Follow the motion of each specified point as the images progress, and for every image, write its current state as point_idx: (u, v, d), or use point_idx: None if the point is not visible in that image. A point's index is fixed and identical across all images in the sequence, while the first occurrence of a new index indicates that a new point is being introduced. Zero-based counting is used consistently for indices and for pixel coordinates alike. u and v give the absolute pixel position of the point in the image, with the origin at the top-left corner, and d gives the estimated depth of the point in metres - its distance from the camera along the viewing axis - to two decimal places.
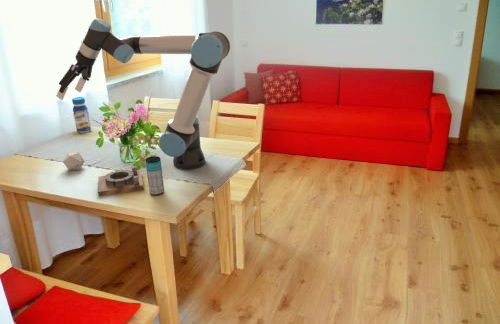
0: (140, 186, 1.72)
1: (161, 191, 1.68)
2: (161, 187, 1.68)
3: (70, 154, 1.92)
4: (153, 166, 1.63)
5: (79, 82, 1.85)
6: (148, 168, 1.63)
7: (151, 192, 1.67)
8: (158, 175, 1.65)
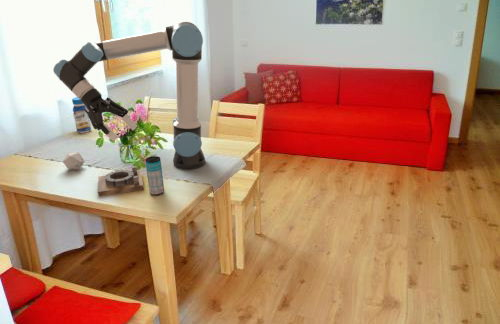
0: (140, 186, 1.72)
1: (161, 191, 1.68)
2: (161, 187, 1.68)
3: (70, 154, 1.92)
4: (153, 166, 1.63)
5: (126, 122, 1.70)
6: (148, 168, 1.63)
7: (151, 192, 1.67)
8: (158, 175, 1.65)
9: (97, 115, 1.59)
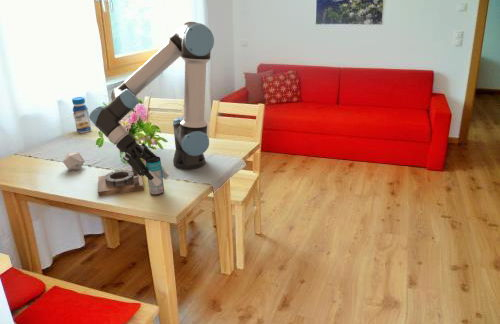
0: (140, 186, 1.72)
1: (161, 191, 1.68)
2: (161, 187, 1.68)
3: (70, 154, 1.92)
4: (153, 166, 1.63)
5: None
6: (148, 168, 1.63)
7: (151, 192, 1.67)
8: (158, 175, 1.65)
9: (137, 161, 1.63)
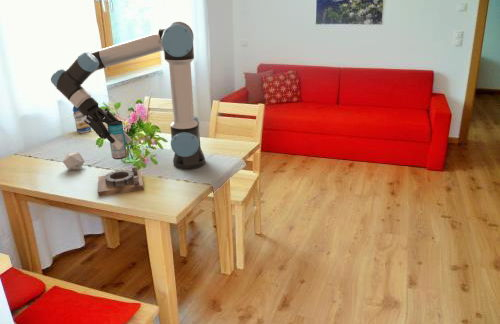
0: (140, 186, 1.72)
1: (123, 155, 1.69)
2: (123, 151, 1.69)
3: (70, 154, 1.92)
4: (114, 129, 1.64)
5: None
6: (110, 131, 1.65)
7: (113, 156, 1.69)
8: (120, 139, 1.66)
9: (99, 125, 1.64)
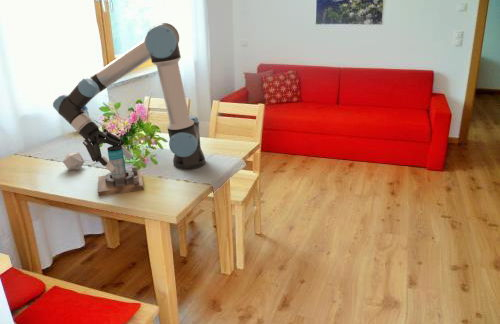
0: (140, 186, 1.72)
1: None
2: (123, 175, 1.75)
3: (70, 154, 1.92)
4: (114, 155, 1.70)
5: None
6: (110, 156, 1.70)
7: None
8: (120, 163, 1.72)
9: (95, 147, 1.68)
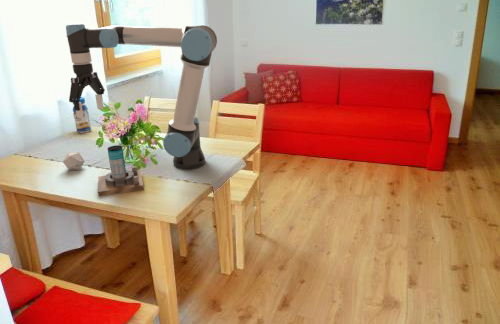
0: (140, 186, 1.72)
1: None
2: (123, 175, 1.75)
3: (70, 154, 1.92)
4: (114, 155, 1.70)
5: (97, 99, 1.82)
6: (110, 156, 1.70)
7: None
8: (120, 163, 1.72)
9: (78, 89, 1.69)
